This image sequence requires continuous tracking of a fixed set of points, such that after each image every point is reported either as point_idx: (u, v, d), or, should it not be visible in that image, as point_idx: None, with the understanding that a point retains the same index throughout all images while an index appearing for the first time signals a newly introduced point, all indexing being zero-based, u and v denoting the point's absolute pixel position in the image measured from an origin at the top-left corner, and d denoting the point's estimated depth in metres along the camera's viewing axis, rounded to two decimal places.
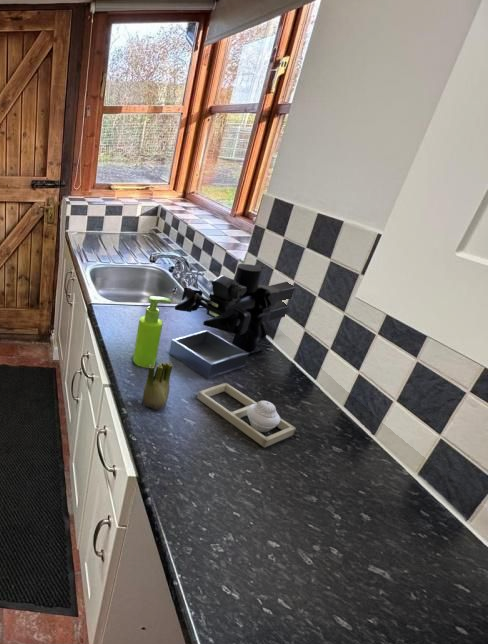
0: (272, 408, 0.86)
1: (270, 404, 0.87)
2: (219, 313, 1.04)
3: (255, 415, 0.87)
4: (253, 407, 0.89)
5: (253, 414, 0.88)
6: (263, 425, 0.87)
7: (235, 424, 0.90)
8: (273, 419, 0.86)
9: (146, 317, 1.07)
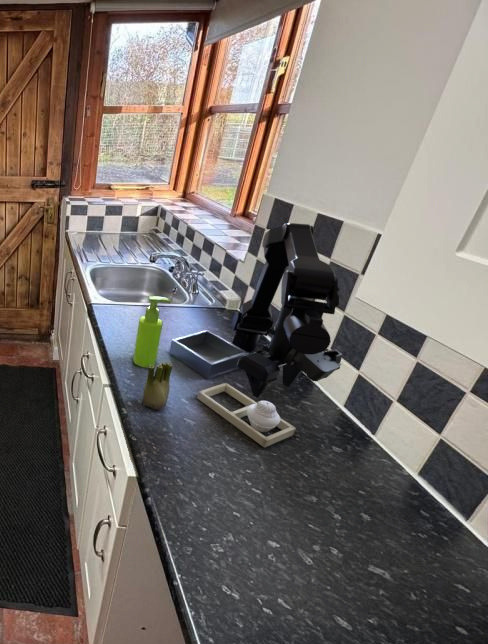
0: (272, 408, 0.86)
1: (270, 404, 0.87)
2: None
3: (255, 415, 0.87)
4: (253, 407, 0.89)
5: (253, 414, 0.88)
6: (263, 425, 0.87)
7: (235, 424, 0.90)
8: (273, 419, 0.86)
9: (146, 317, 1.07)
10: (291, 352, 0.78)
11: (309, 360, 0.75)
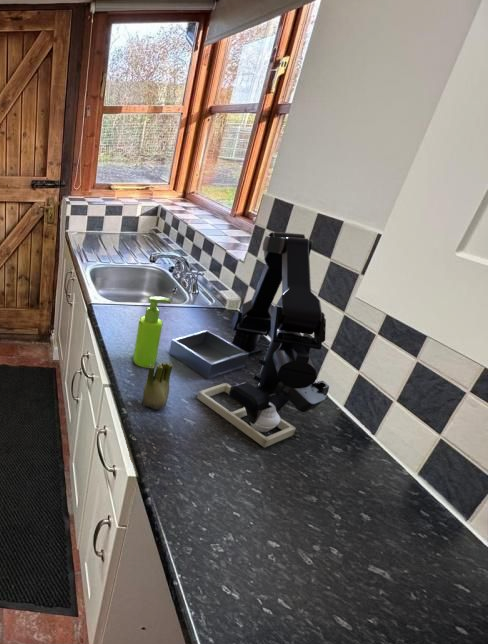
0: (272, 408, 0.86)
1: (270, 404, 0.87)
2: None
3: None
4: None
5: None
6: (263, 425, 0.87)
7: (235, 424, 0.90)
8: (273, 419, 0.86)
9: (146, 317, 1.07)
10: (280, 383, 0.81)
11: (297, 392, 0.78)
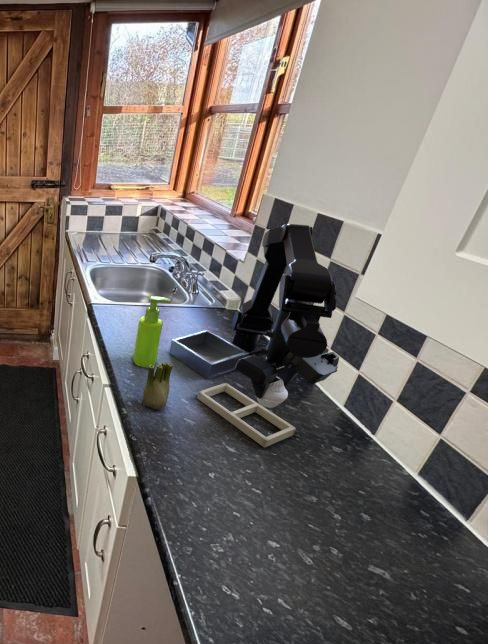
0: (280, 382, 0.84)
1: (278, 378, 0.85)
2: None
3: None
4: None
5: None
6: (270, 400, 0.84)
7: (235, 424, 0.90)
8: (281, 393, 0.84)
9: (146, 317, 1.07)
10: (289, 355, 0.78)
11: (306, 363, 0.76)
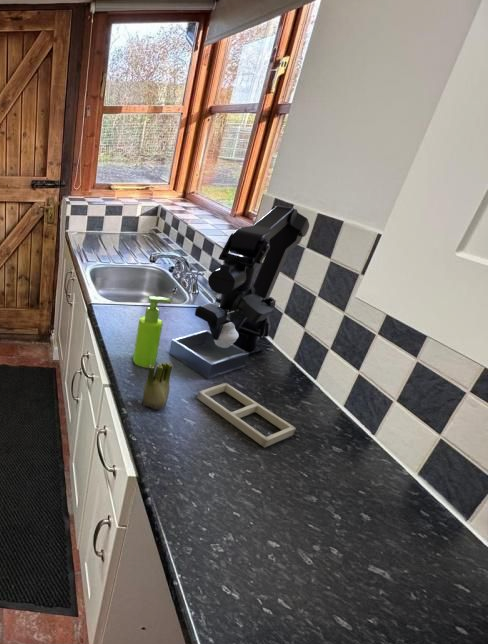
0: (231, 325, 1.02)
1: (230, 323, 1.03)
2: None
3: None
4: None
5: None
6: (224, 340, 1.02)
7: (235, 424, 0.90)
8: (232, 334, 1.02)
9: (146, 317, 1.07)
10: (236, 300, 0.97)
11: (249, 305, 0.94)
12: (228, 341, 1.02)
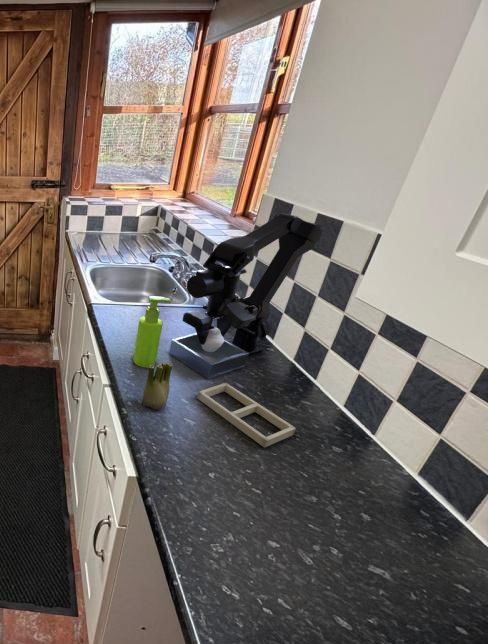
0: (217, 331, 1.09)
1: (216, 328, 1.10)
2: None
3: None
4: None
5: None
6: (210, 345, 1.09)
7: (235, 424, 0.90)
8: (218, 339, 1.09)
9: (146, 317, 1.07)
10: (220, 308, 1.03)
11: (232, 313, 1.01)
12: (214, 346, 1.09)
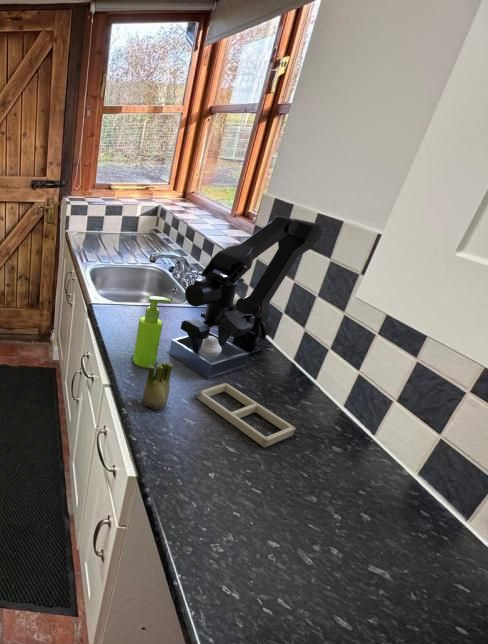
0: (215, 340, 1.10)
1: (214, 338, 1.11)
2: None
3: (202, 347, 1.11)
4: None
5: (201, 346, 1.12)
6: (208, 354, 1.10)
7: (235, 424, 0.90)
8: (215, 349, 1.10)
9: (146, 317, 1.07)
10: (218, 316, 1.04)
11: (230, 321, 1.02)
12: (211, 355, 1.10)
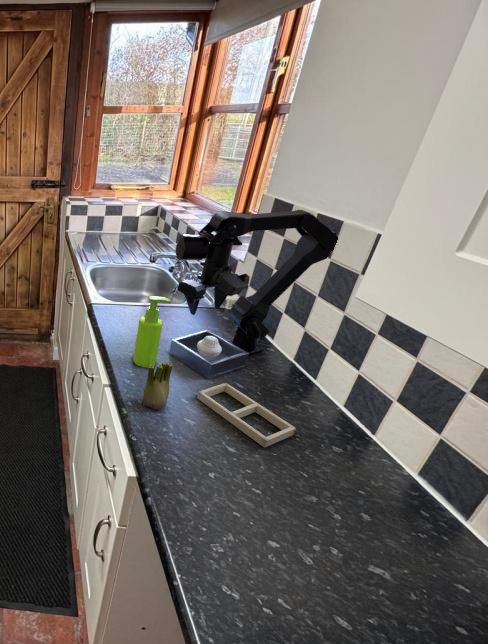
0: (215, 340, 1.10)
1: (214, 338, 1.11)
2: None
3: (202, 347, 1.11)
4: (201, 341, 1.13)
5: (201, 346, 1.12)
6: (208, 354, 1.10)
7: (235, 424, 0.90)
8: (215, 349, 1.10)
9: (146, 317, 1.07)
10: (214, 276, 1.07)
11: (225, 280, 1.04)
12: (211, 355, 1.10)
